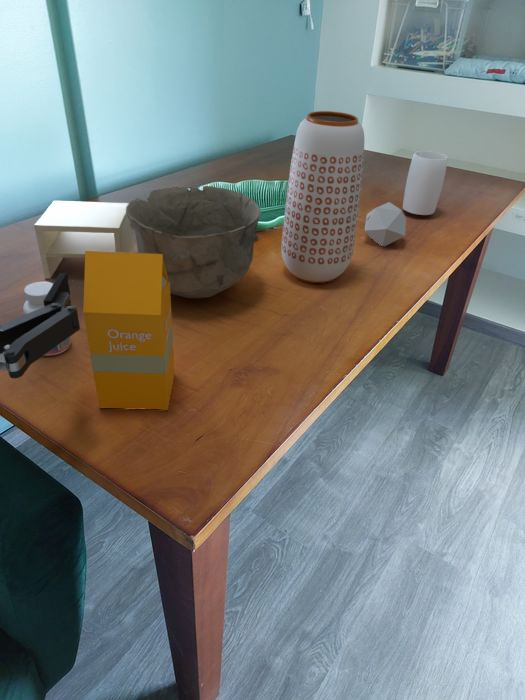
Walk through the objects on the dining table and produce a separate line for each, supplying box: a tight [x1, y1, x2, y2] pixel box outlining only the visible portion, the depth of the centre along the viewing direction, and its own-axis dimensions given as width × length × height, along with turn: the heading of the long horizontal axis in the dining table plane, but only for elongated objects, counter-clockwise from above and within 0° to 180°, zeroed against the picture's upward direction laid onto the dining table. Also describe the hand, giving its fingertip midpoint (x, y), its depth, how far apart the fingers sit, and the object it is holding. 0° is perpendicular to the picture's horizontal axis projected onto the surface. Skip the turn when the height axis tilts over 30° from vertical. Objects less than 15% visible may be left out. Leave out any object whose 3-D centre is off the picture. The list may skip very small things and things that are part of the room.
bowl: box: [126, 185, 262, 299], centre depth 91 cm, size 22×22×15 cm
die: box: [364, 201, 407, 247], centre depth 114 cm, size 8×9×10 cm
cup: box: [402, 150, 449, 216], centre depth 128 cm, size 8×8×14 cm
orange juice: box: [82, 251, 176, 411], centre depth 65 cm, size 8×9×20 cm
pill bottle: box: [22, 280, 72, 357], centre depth 76 cm, size 6×5×10 cm
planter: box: [280, 110, 365, 284], centre depth 94 cm, size 13×13×28 cm
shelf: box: [34, 200, 136, 279], centre depth 98 cm, size 14×12×10 cm
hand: (5, 281), depth 61 cm, fingers open, 13 cm apart
